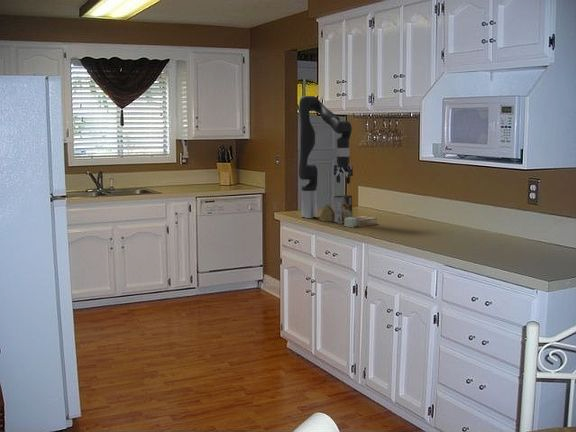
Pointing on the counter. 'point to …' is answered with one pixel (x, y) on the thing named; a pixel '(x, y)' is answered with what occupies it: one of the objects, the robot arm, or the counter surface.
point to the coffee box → (342, 207)
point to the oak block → (365, 220)
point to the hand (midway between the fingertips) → (343, 183)
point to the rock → (327, 214)
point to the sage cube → (350, 222)
